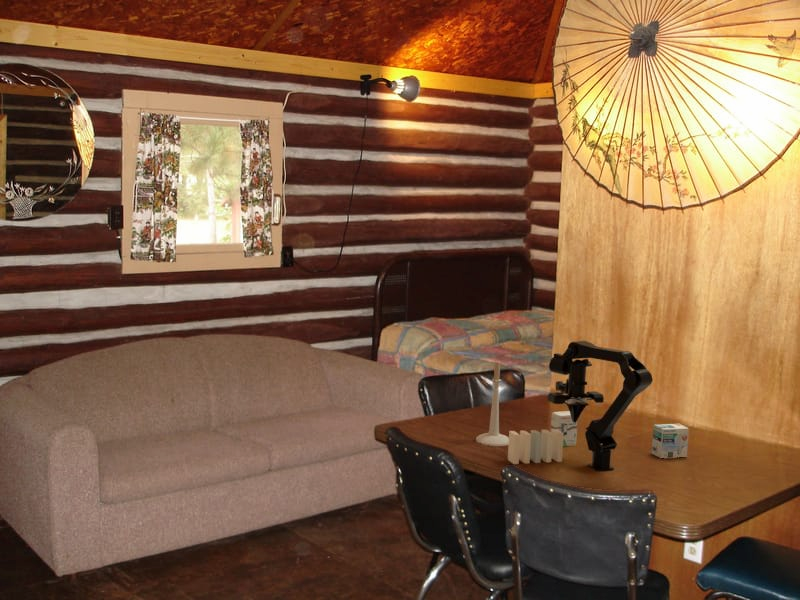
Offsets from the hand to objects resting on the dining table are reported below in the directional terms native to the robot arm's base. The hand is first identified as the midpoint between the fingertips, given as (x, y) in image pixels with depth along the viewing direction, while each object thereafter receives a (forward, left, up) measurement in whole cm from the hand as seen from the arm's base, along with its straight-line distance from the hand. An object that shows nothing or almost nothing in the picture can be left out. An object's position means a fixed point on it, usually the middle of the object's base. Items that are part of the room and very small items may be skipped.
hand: (574, 422), depth 308 cm
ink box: (+17, -5, -13) cm, 22 cm away
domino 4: (0, +10, -13) cm, 16 cm away
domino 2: (0, +18, -13) cm, 22 cm away
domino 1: (0, +22, -13) cm, 26 cm away
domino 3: (0, +14, -13) cm, 19 cm away
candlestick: (+25, +19, -13) cm, 34 cm away
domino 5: (0, +6, -13) cm, 14 cm away
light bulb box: (-2, -37, -13) cm, 39 cm away
